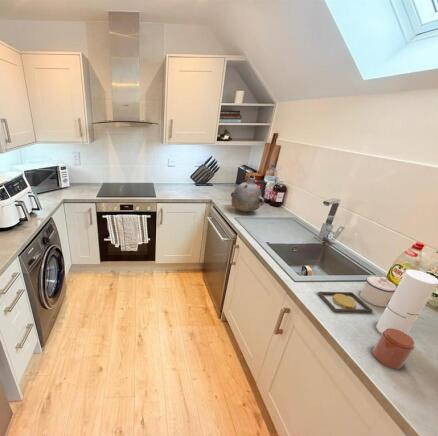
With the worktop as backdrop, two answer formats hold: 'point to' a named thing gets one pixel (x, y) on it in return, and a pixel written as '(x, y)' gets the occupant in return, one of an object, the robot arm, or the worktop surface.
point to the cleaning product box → (260, 186)
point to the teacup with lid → (378, 291)
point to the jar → (393, 348)
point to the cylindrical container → (407, 301)
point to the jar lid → (344, 301)
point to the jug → (247, 196)
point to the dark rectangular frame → (366, 310)
